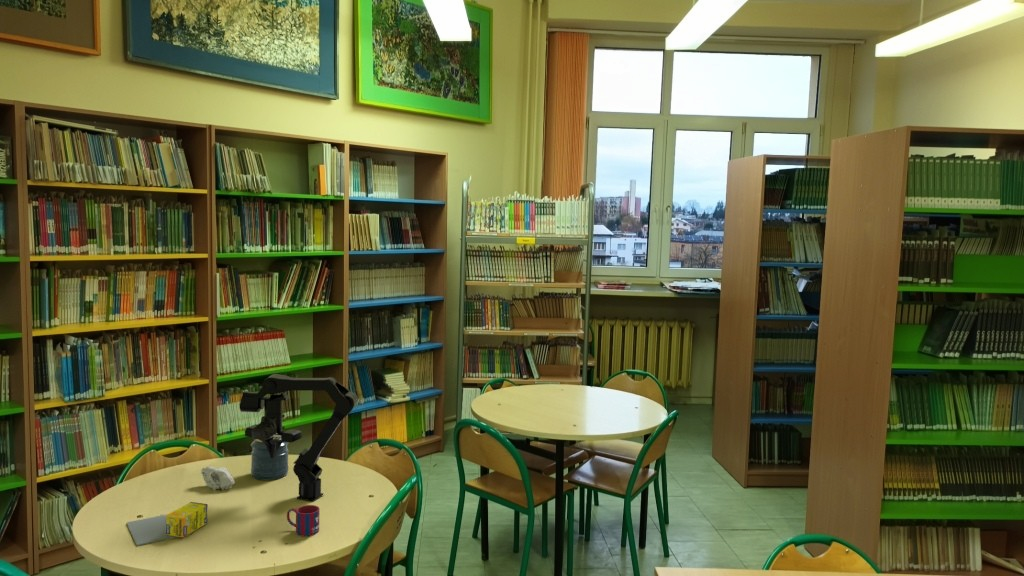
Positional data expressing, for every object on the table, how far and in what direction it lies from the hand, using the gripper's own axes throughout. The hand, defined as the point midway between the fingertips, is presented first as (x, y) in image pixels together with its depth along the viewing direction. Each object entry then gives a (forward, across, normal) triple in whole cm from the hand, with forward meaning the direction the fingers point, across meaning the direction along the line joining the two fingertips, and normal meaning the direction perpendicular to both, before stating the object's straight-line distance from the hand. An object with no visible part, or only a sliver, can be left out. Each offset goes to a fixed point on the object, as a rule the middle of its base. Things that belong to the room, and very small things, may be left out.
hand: (272, 458), depth 226 cm
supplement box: (+10, -7, -26) cm, 28 cm away
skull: (+13, -22, 0) cm, 26 cm away
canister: (+13, -14, +17) cm, 26 cm away
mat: (+13, -14, -34) cm, 39 cm away
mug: (+13, +25, -19) cm, 34 cm away
